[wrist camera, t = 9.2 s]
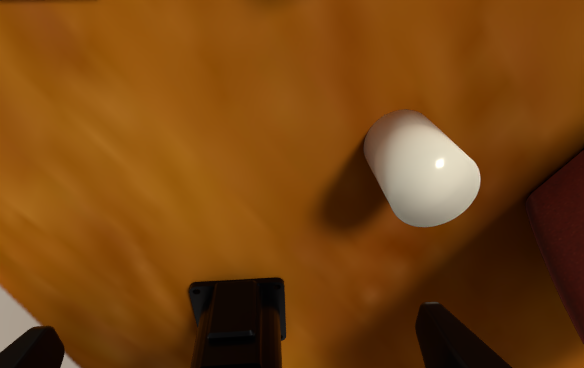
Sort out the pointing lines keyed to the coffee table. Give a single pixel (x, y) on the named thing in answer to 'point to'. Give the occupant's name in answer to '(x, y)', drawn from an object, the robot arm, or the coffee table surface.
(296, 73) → the coffee table surface
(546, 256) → the plant pot
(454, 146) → the ivory rounded cylinder
